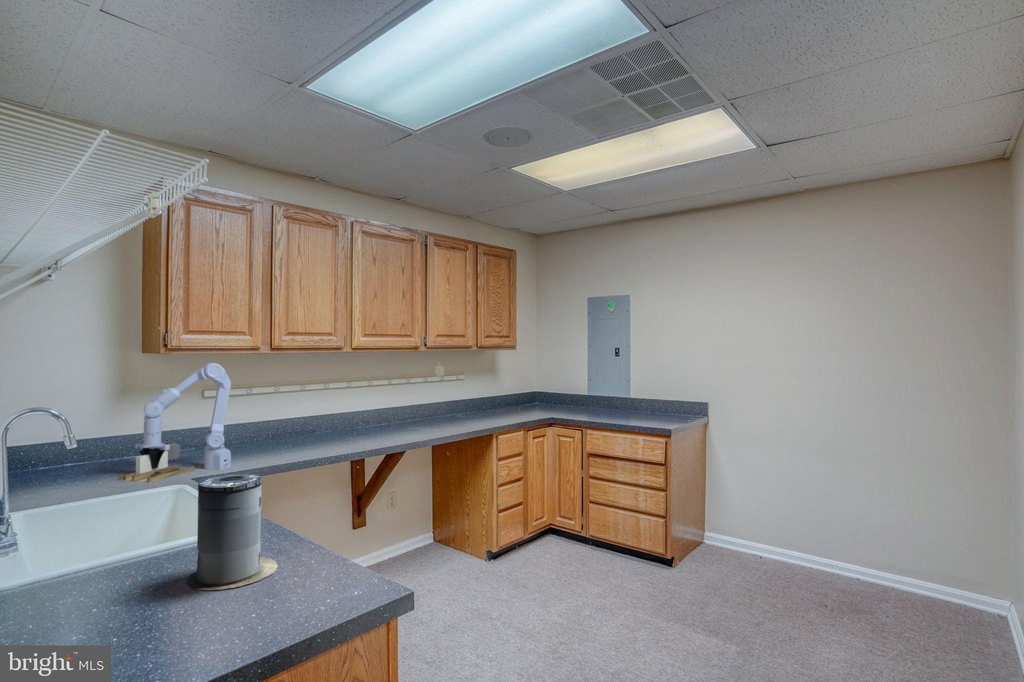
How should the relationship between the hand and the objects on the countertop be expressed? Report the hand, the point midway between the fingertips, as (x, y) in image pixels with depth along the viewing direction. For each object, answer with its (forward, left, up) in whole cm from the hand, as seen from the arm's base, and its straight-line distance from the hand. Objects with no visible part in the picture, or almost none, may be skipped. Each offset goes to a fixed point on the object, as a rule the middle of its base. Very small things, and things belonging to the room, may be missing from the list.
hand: (152, 467), depth 204 cm
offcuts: (-7, 0, -3) cm, 7 cm away
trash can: (-98, +68, -4) cm, 119 cm away
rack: (-3, 0, -3) cm, 5 cm away
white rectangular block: (0, 0, -3) cm, 3 cm away
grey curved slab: (+20, -22, -4) cm, 30 cm away
